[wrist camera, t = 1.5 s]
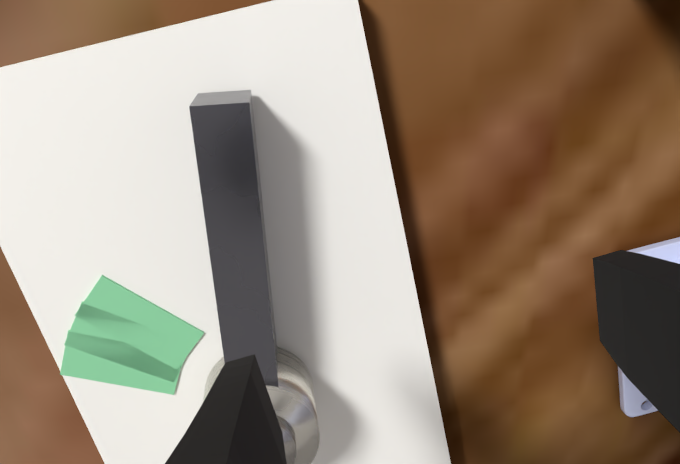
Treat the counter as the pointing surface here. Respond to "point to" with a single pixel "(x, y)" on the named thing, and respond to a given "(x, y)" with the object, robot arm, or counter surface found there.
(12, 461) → the counter surface
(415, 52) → the counter surface
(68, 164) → the dial board
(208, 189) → the dial pointer
